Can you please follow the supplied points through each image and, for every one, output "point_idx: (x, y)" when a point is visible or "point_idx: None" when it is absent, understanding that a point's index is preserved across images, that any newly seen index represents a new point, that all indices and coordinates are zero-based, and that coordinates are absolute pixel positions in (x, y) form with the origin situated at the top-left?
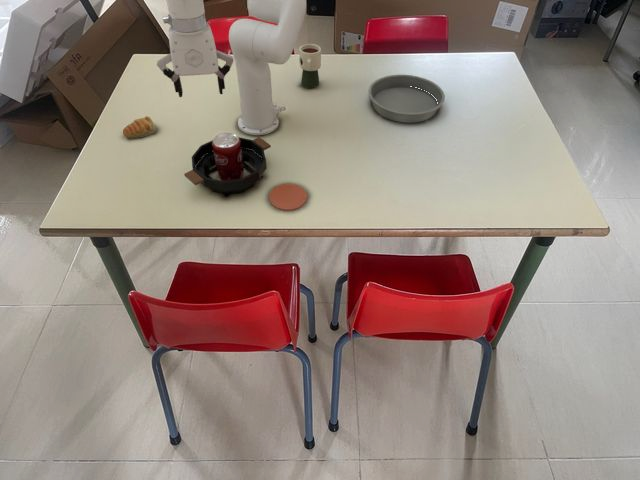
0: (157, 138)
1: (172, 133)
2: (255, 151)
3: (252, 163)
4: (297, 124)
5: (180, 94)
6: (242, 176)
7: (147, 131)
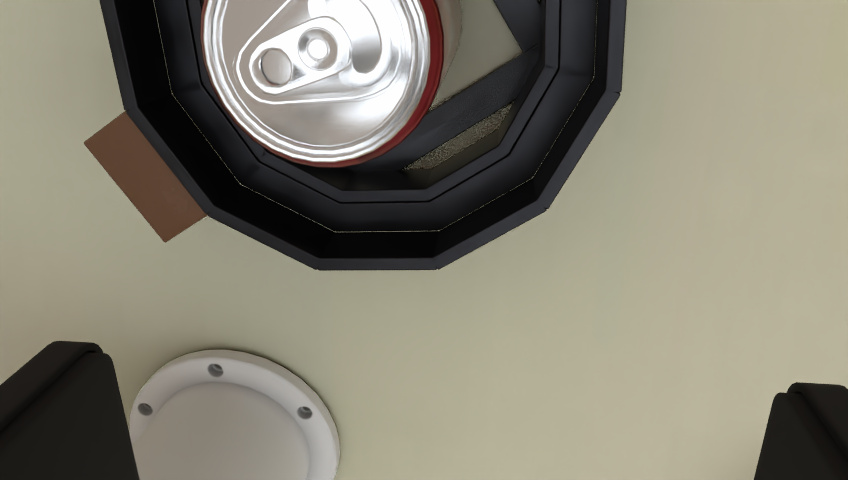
0: None
1: (688, 451)
2: (208, 150)
3: None
4: None
5: (830, 415)
6: None
7: None
